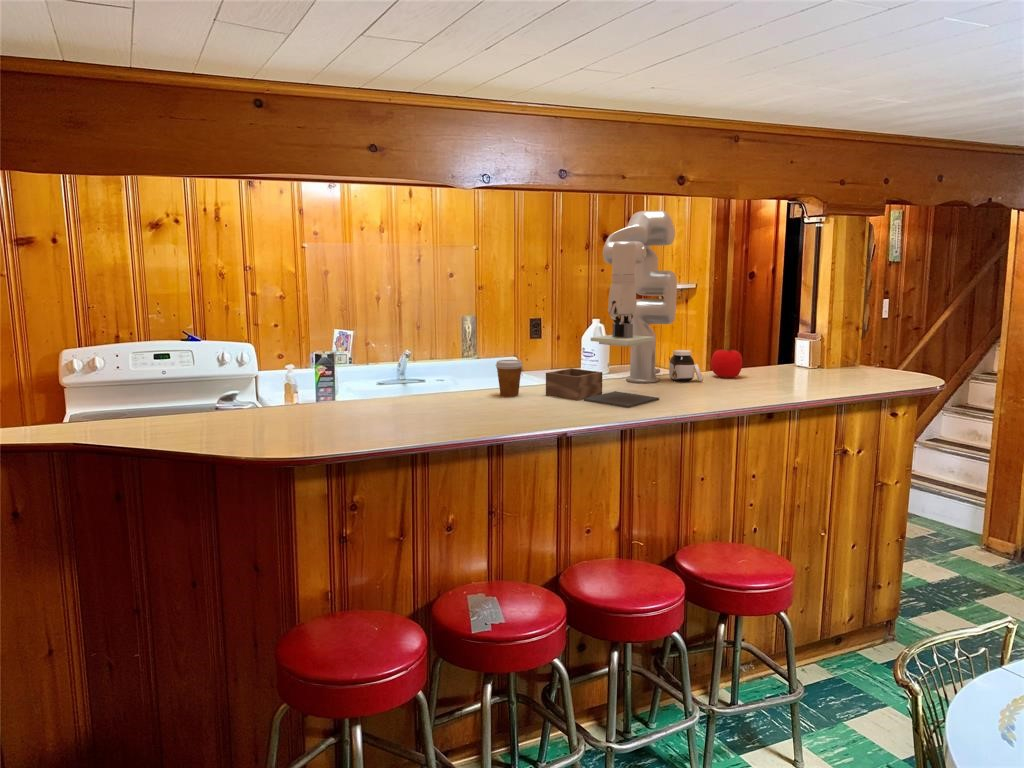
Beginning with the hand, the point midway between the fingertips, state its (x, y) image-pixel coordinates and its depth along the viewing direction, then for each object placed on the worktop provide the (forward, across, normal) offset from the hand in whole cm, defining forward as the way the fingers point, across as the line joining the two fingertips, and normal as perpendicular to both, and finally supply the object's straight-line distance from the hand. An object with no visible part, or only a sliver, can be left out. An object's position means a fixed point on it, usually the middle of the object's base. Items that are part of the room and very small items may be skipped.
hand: (622, 335), depth 243 cm
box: (+22, +3, -18) cm, 29 cm away
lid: (+3, 0, 0) cm, 3 cm away
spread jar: (+22, -49, -4) cm, 54 cm away
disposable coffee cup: (+22, +18, -35) cm, 45 cm away
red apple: (+22, -67, +3) cm, 71 cm away
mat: (+22, 0, 0) cm, 22 cm away
